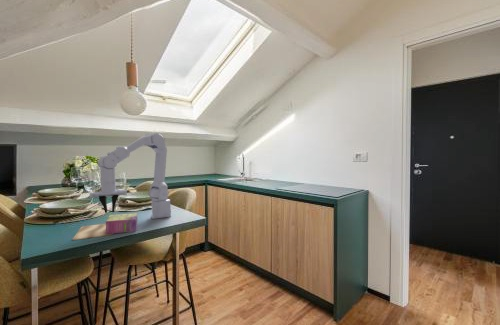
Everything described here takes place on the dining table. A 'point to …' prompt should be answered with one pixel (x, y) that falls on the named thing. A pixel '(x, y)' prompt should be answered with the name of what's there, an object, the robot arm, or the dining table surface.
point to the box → (121, 223)
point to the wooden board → (91, 232)
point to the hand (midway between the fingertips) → (109, 212)
